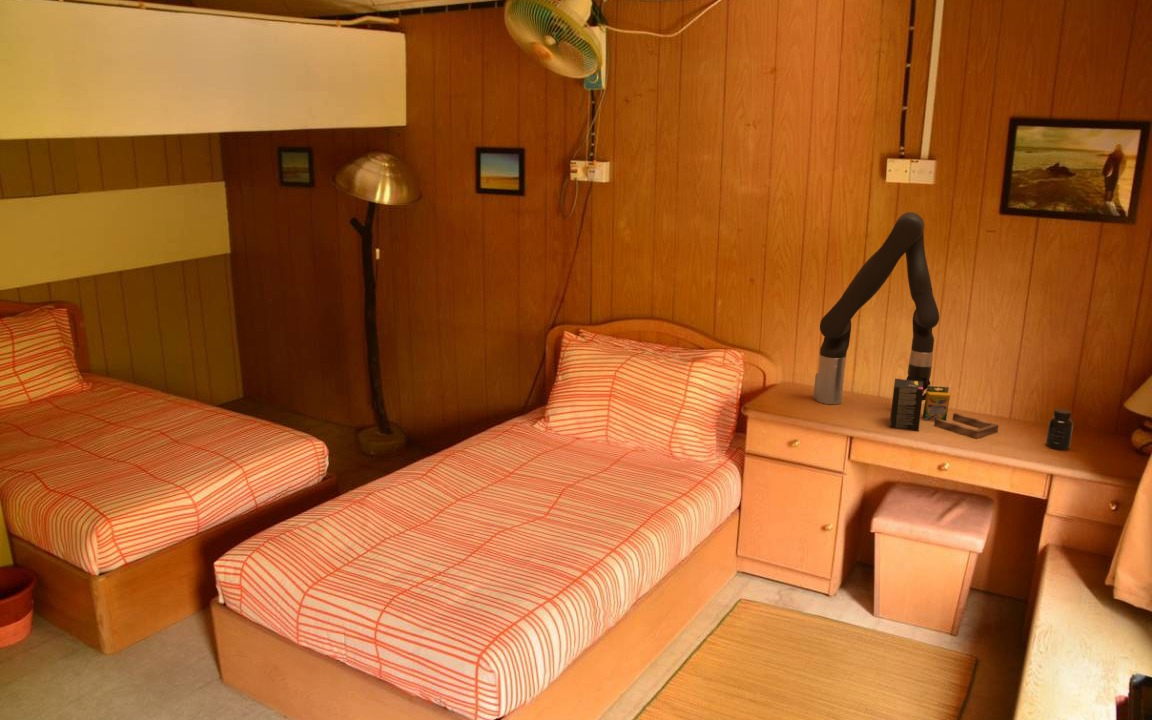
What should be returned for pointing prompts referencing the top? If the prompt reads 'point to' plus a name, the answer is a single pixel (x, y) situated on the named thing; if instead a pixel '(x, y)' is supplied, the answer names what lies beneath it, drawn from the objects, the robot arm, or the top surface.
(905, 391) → the tampon box
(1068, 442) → the supplement bottle
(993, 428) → the bay
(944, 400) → the crayon box
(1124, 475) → the top surface
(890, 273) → the robot arm
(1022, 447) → the top surface
